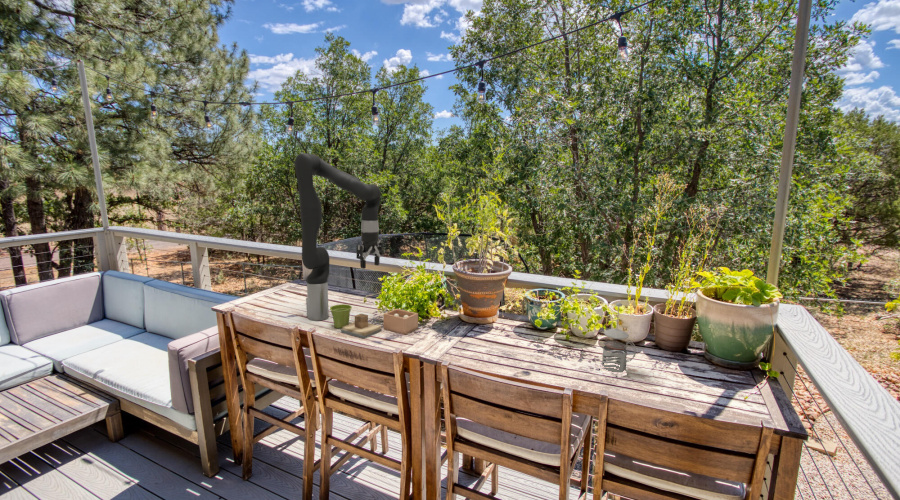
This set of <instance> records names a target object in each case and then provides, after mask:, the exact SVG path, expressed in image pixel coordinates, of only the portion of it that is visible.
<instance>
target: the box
mask: <svg viewBox="0 0 900 500" xmlns="http://www.w3.org/2000/svg"><path fill="white" fill-rule="evenodd" d="M382 316H383V330H385V331H388V332H389V331H390V332H393V333H397V334H401V335H403V336H405V335H408V334H410V333H412V332H414V331H416V330H418V328H419V313H418V312H413V311H408V310H403V309H399V308H395V309H392V310H389V311H387V312H385V313H383V315H382Z"/></svg>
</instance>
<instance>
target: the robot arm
mask: <svg viewBox="0 0 900 500" xmlns="http://www.w3.org/2000/svg"><path fill="white" fill-rule="evenodd" d="M294 170H295V176H296V181H297V187H298V196H299V210H300V221H301V237H302V240H301V260H302V264H303V266H304V267H305V268H306V269H307V270H311V272H310V273H309V274H308V275H307V276H306V295H307V297H306V298H305V302H306V305H305V306H306V318H308V320H310V321H313V322H314V321H316V322H318V321H323V320H327V319H328V318H329V313H330V312H329V310H330V307H329V288H328V287H329V284H328V283H329V282H328V278H329V275H330V254H329V252H328V250H327V249H326V248H325V247H322V246H317V237H318V234H319V231H320V228H321V225H322V221H323V207H322V203H321V200H320V198H319V196H318V194H317V192H316V190H315V185H314V179H313V176H318V177H321V178H324V179H327V180H329V181H331V183H332V184H334V185H336V187H338V188H340V189H342V190H344V191H346V192H348V193H350V194H353V196H355V197H356V198H358V199H360V200H362V201H365V204H364V206H363V207H361V208H362V209H361V226H360V228H361V229H360V232H361V233H360V234H361V235H360V237H361V238H360V240H361V242H362V244H361V245H360V244H357V245H356V258H355V259H357V260H359V261H360V262H359V263H360V265H359V266H360V268H361V269H366V266H367V264H366V263H367V262H366V261H367V260H366V259H367V257H368V256H369V255H371V254H373V257H374V266H380V260H381V259H380V258H381V256H383V255H384V247H383V246H384V244H383V242H382V241H379V238H380V237H379V236H380V235H379V234H380V233H379V231H380V230H379V229H380V228H379V225H380V224H379V207H380V203H381V197H382V195H381V194H382V193H381V189H380V187H379V186H378V185H377V184H370V183H369V184H368V183H365V182H364V181H361V180H360V179H359V178H358V177H356V176H354V175H351V174H350V173H347V172H346V171H343V170H341V169H339V168H336V167H335V166H333V165H332V164H330V163H328V162H327V161H325V160H323V159H322V158H321V157H320V156H317V155H316V154H314V153H303V152H302V153H299V154H298V155H296V156H295V160H294Z"/></svg>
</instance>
